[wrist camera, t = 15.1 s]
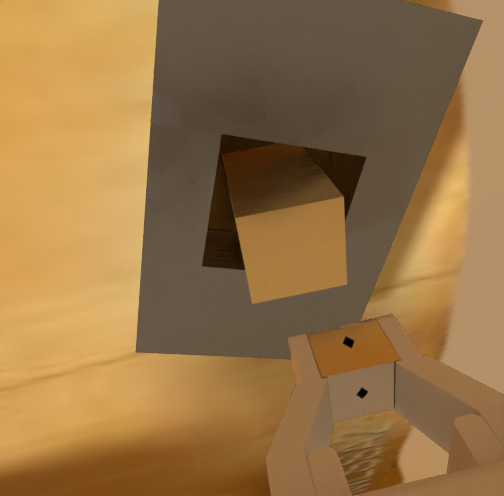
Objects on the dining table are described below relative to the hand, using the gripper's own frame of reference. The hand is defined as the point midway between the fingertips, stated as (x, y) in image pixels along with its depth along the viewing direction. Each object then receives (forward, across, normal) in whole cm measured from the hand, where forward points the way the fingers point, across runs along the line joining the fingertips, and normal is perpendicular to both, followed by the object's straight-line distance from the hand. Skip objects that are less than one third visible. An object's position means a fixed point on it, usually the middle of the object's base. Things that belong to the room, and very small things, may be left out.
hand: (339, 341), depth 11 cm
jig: (+12, 0, 0) cm, 12 cm away
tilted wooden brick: (+12, 0, 0) cm, 12 cm away
